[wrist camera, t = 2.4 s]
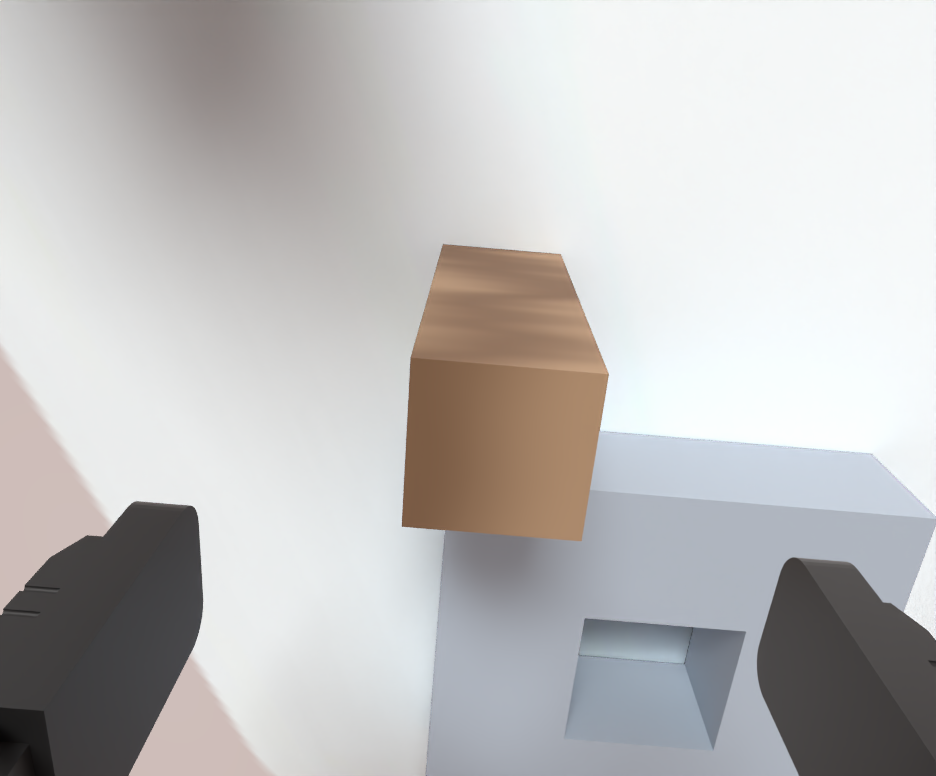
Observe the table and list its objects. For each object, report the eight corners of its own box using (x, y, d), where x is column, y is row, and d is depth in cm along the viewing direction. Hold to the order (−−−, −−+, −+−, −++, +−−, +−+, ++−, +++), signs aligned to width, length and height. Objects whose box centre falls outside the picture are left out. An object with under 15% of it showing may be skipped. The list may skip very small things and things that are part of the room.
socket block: (872, 454, 25) (938, 519, 21) (773, 759, 30) (813, 853, 27) (455, 419, 25) (449, 478, 21) (430, 731, 30) (422, 822, 27)
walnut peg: (560, 254, 23) (608, 374, 14) (546, 364, 24) (581, 541, 15) (443, 244, 23) (411, 357, 14) (435, 355, 24) (401, 526, 15)
